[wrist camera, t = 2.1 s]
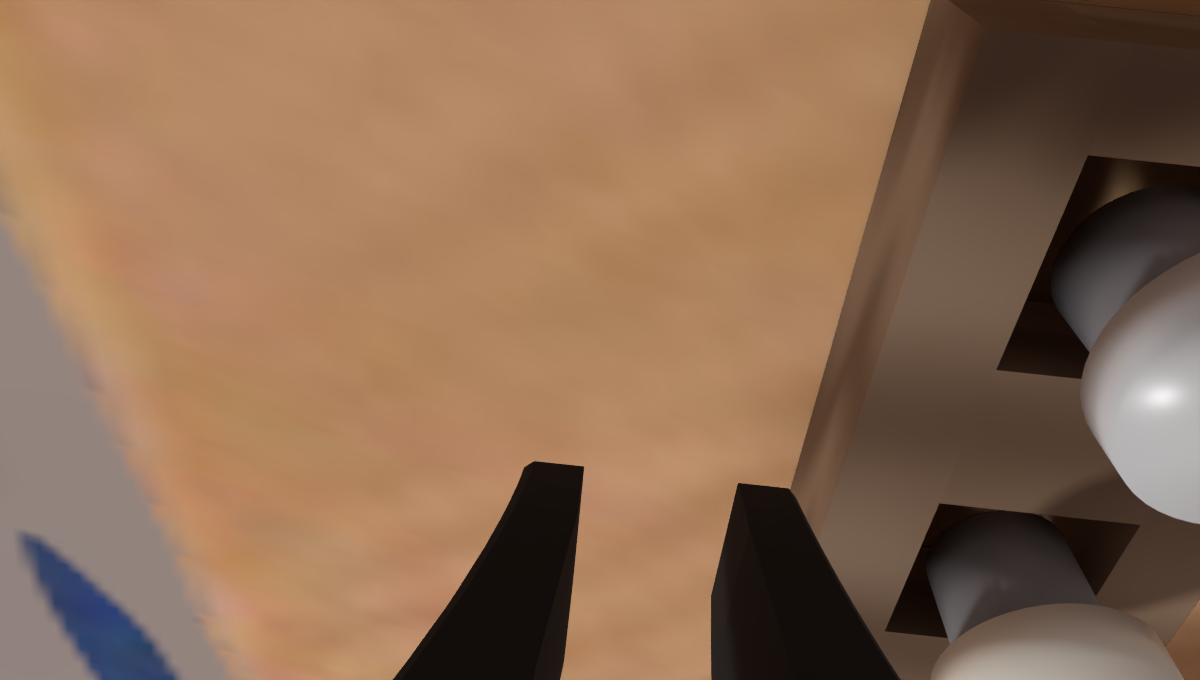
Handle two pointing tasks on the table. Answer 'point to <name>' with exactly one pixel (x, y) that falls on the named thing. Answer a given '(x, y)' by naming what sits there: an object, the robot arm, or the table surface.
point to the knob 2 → (1030, 609)
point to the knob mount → (992, 315)
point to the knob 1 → (1140, 339)
